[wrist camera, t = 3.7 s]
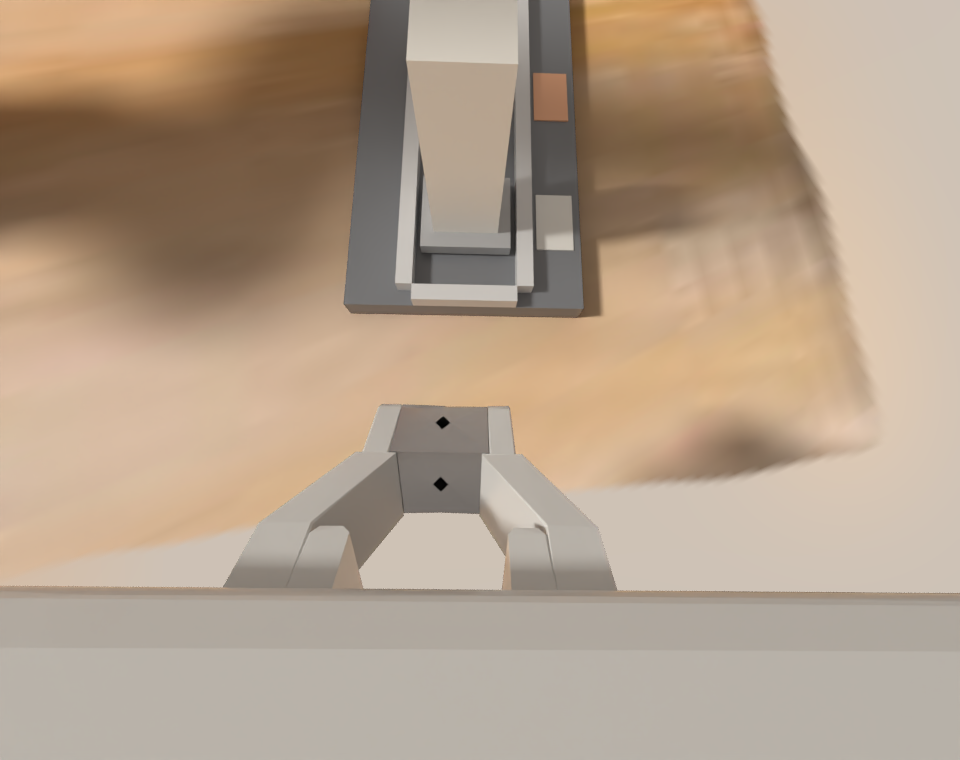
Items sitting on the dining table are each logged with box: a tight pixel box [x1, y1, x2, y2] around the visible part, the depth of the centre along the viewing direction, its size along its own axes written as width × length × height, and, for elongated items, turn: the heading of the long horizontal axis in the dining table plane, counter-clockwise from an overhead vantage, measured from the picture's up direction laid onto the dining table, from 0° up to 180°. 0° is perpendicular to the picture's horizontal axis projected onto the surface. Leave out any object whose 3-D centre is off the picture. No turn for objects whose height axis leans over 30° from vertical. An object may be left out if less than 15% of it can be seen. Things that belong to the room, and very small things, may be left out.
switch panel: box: [344, 0, 584, 318], centre depth 27 cm, size 15×28×2 cm, turn 179°
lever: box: [406, 0, 518, 255], centre depth 20 cm, size 6×5×11 cm
